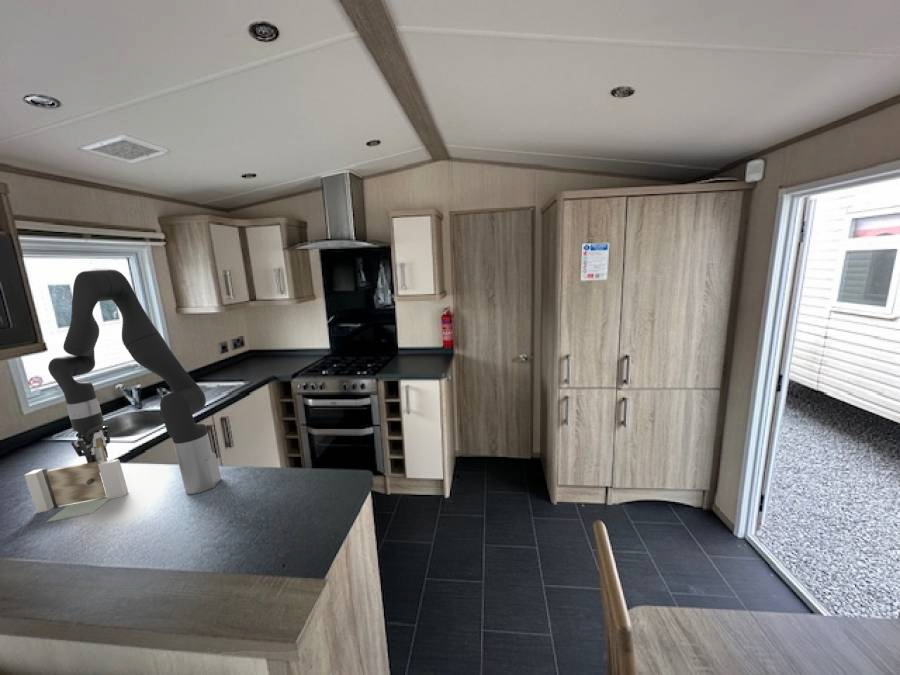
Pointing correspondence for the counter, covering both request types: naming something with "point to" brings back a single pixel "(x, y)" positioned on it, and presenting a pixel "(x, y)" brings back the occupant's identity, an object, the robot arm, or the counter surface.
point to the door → (74, 484)
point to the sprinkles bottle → (99, 450)
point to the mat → (79, 509)
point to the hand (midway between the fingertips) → (98, 461)
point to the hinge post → (39, 490)
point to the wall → (113, 478)
